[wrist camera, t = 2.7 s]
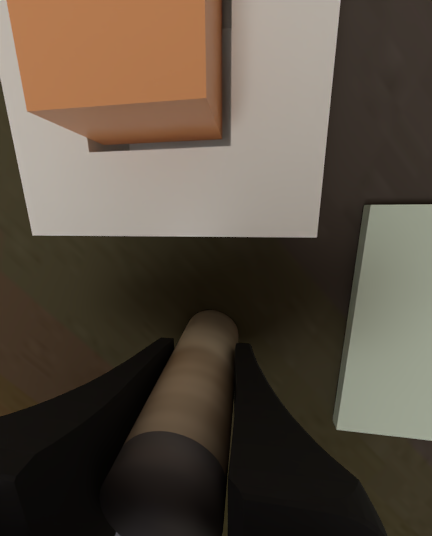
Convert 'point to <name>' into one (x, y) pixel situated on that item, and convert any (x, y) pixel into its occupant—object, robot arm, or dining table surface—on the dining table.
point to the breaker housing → (197, 142)
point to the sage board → (389, 327)
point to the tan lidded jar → (179, 441)
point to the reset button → (122, 67)
